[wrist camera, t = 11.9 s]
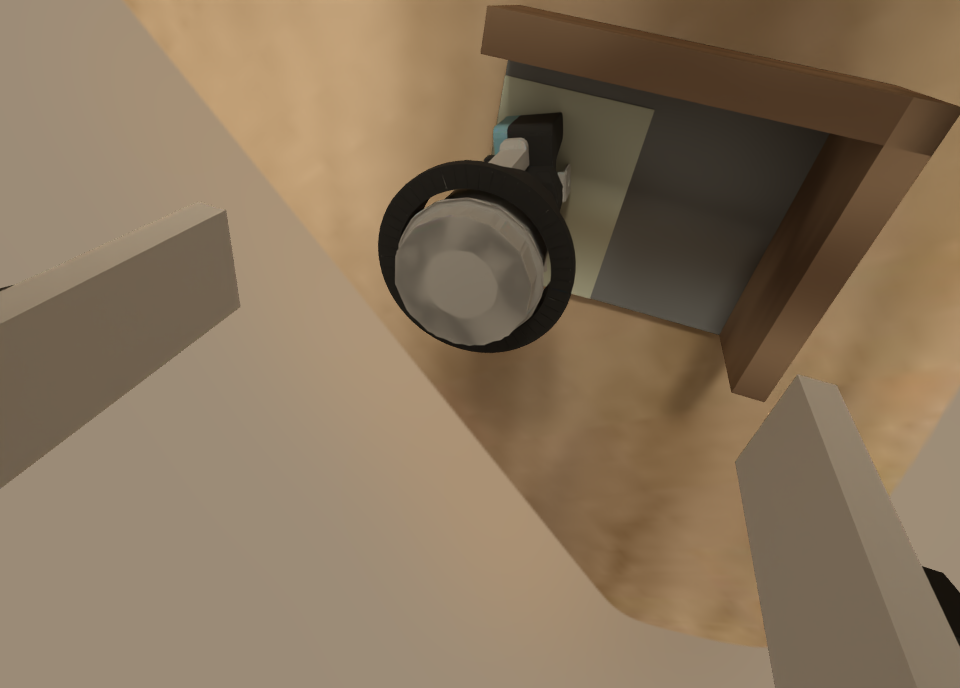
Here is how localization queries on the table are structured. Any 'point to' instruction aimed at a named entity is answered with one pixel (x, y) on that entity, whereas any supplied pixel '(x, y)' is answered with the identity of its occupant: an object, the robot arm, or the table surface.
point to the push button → (485, 242)
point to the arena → (714, 175)
